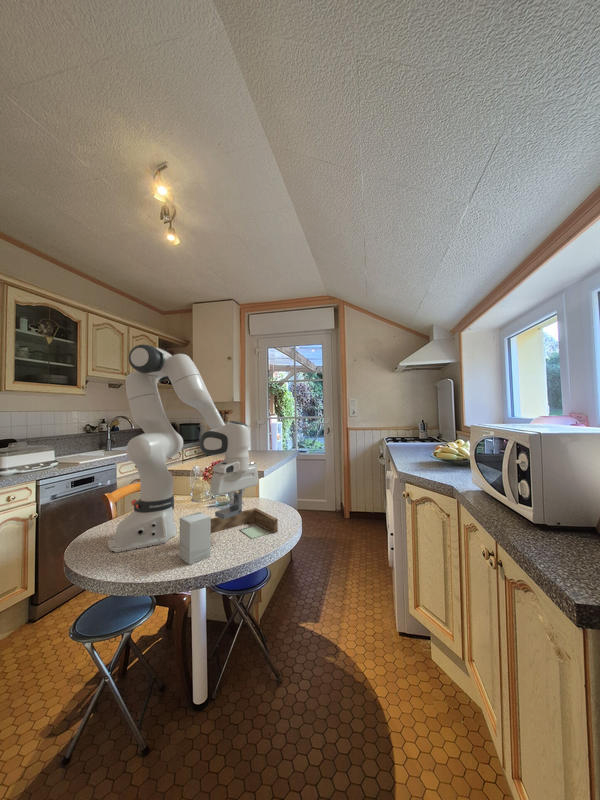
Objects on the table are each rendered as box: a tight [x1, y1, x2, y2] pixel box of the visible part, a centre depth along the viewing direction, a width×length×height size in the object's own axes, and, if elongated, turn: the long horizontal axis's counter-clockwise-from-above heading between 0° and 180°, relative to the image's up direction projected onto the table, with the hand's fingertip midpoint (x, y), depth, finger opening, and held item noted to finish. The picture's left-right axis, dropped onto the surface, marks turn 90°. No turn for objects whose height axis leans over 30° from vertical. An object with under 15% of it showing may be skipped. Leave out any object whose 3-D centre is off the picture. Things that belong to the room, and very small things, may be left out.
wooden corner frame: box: [211, 507, 279, 534], centre depth 111 cm, size 22×17×5 cm
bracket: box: [214, 491, 243, 519], centre depth 105 cm, size 8×5×7 cm, turn 143°
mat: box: [239, 524, 269, 540], centre depth 111 cm, size 7×10×1 cm
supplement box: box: [179, 511, 212, 565], centre depth 92 cm, size 7×7×13 cm
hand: (235, 502), depth 107 cm, fingers closed on bracket
